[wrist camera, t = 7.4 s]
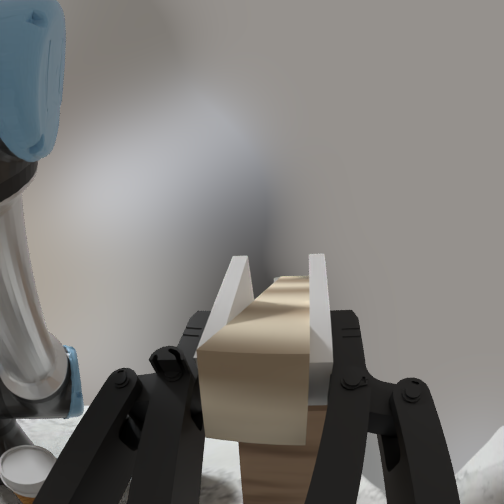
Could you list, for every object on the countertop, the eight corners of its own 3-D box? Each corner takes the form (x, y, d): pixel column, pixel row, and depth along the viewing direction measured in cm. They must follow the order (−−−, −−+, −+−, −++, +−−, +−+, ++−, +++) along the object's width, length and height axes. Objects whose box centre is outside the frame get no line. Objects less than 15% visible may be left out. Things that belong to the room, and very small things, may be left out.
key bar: (322, 445, 7) (329, 353, 7) (190, 434, 8) (179, 348, 8) (314, 303, 30) (314, 275, 30) (276, 304, 31) (276, 276, 31)
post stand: (329, 574, 15) (383, 364, 15) (223, 567, 17) (186, 362, 17) (330, 493, 30) (349, 311, 31) (250, 491, 33) (242, 313, 33)
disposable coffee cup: (103, 521, 22) (74, 464, 22) (63, 553, 12) (20, 497, 13) (60, 493, 24) (32, 435, 24) (22, 517, 15) (-16, 457, 15)
